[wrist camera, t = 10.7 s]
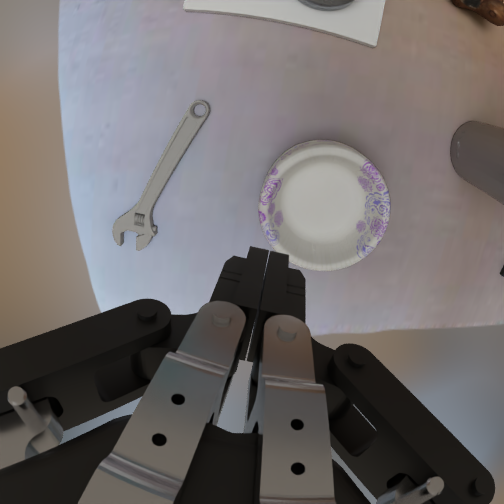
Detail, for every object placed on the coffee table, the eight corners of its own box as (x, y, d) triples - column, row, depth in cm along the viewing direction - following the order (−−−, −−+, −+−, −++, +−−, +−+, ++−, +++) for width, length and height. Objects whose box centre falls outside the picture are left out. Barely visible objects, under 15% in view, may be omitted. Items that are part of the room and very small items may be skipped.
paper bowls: (244, 160, 40) (235, 174, 33) (354, 121, 36) (371, 127, 29) (286, 257, 46) (286, 288, 39) (385, 224, 42) (402, 250, 35)
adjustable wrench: (198, 95, 36) (194, 95, 35) (237, 124, 38) (235, 125, 36) (112, 231, 47) (107, 236, 45) (143, 254, 48) (139, 260, 47)
